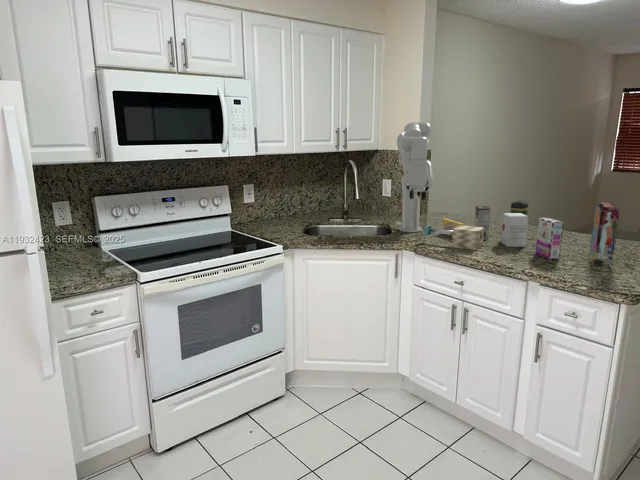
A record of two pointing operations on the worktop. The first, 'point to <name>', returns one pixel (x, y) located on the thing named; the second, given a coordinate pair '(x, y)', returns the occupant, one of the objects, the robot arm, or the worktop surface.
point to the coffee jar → (519, 207)
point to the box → (604, 231)
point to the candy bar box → (549, 238)
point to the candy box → (450, 224)
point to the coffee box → (483, 219)
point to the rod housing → (467, 237)
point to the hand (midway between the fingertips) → (417, 198)
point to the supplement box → (514, 229)
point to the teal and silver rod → (436, 231)
